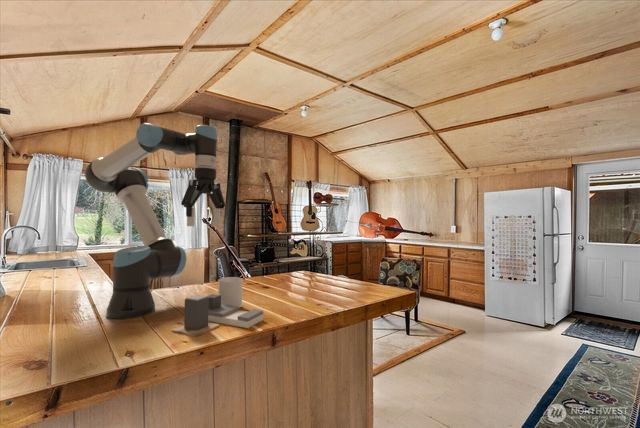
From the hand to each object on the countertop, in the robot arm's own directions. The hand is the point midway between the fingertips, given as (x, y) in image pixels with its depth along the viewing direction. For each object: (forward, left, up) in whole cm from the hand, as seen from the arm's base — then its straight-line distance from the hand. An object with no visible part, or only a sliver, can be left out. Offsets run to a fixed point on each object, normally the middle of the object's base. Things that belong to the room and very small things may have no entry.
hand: (204, 225), depth 120 cm
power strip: (+13, -3, -32) cm, 34 cm away
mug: (+5, +9, -32) cm, 34 cm away
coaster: (+11, -15, -32) cm, 37 cm away
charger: (+11, -15, -31) cm, 36 cm away
